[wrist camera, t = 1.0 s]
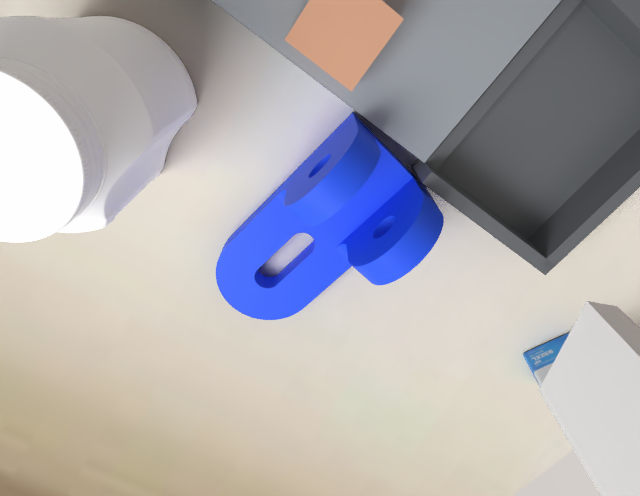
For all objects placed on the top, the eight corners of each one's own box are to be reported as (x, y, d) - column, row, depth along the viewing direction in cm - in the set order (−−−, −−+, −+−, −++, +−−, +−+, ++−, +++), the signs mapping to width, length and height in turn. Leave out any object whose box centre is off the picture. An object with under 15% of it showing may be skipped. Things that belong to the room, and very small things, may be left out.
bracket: (352, 111, 35) (362, 140, 27) (425, 187, 38) (454, 234, 29) (201, 266, 41) (171, 327, 33) (273, 322, 43) (262, 392, 35)
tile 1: (287, 38, 30) (284, 39, 28) (333, -36, 29) (334, -40, 26) (349, 86, 32) (351, 91, 29) (397, 18, 30) (404, 18, 28)
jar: (87, -13, 31) (-89, -34, 18) (215, 74, 34) (144, 113, 20) (27, 132, 36) (-152, 203, 22) (145, 200, 38) (47, 302, 24)
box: (412, 166, 37) (422, 182, 33) (574, -28, 31) (607, -34, 27) (525, 251, 40) (545, 274, 36) (690, 89, 34) (734, 98, 30)
